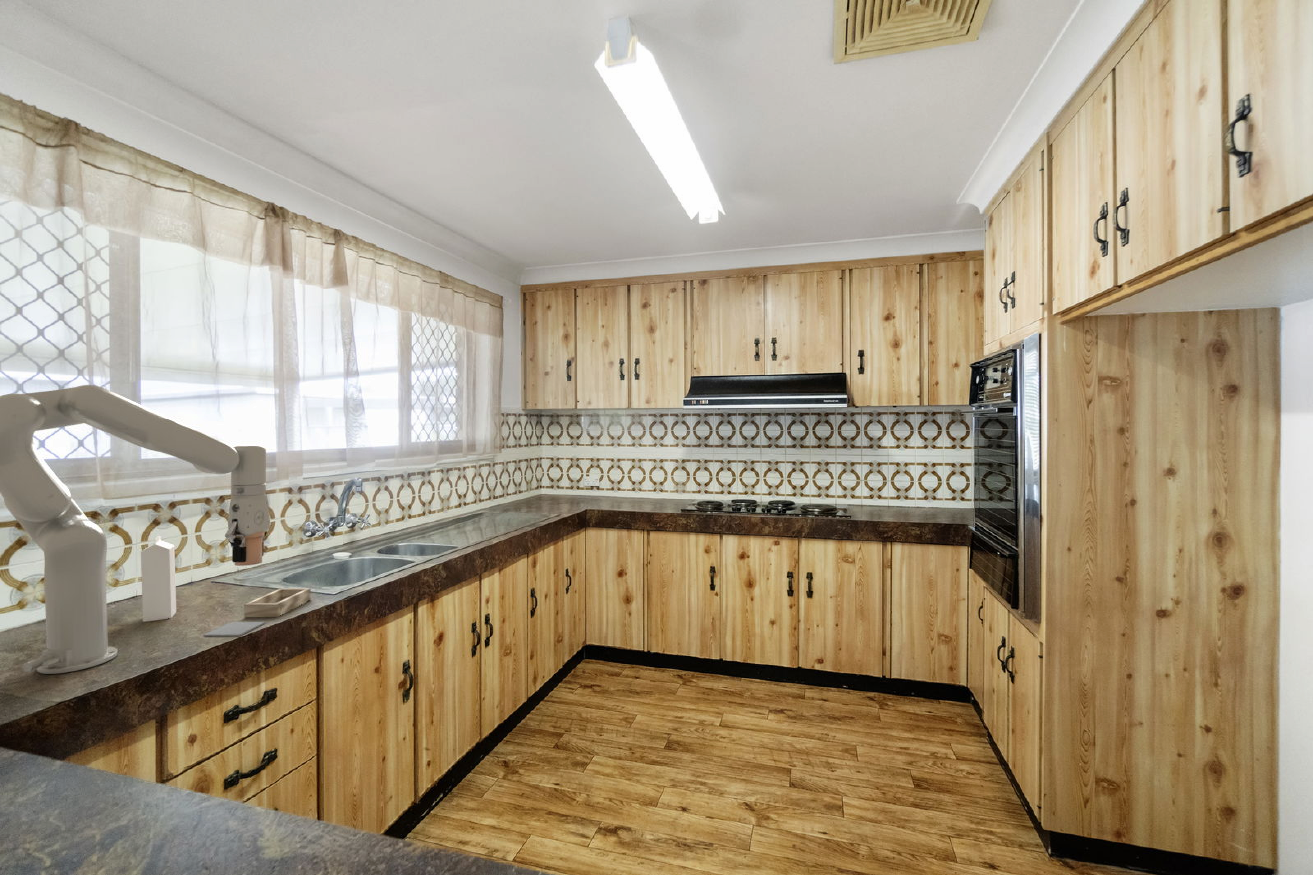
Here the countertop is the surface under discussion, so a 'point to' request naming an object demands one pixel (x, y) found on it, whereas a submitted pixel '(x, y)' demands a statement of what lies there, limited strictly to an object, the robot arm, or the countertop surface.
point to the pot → (252, 549)
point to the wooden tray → (277, 602)
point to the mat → (234, 629)
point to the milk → (158, 581)
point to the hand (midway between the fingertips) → (248, 558)
